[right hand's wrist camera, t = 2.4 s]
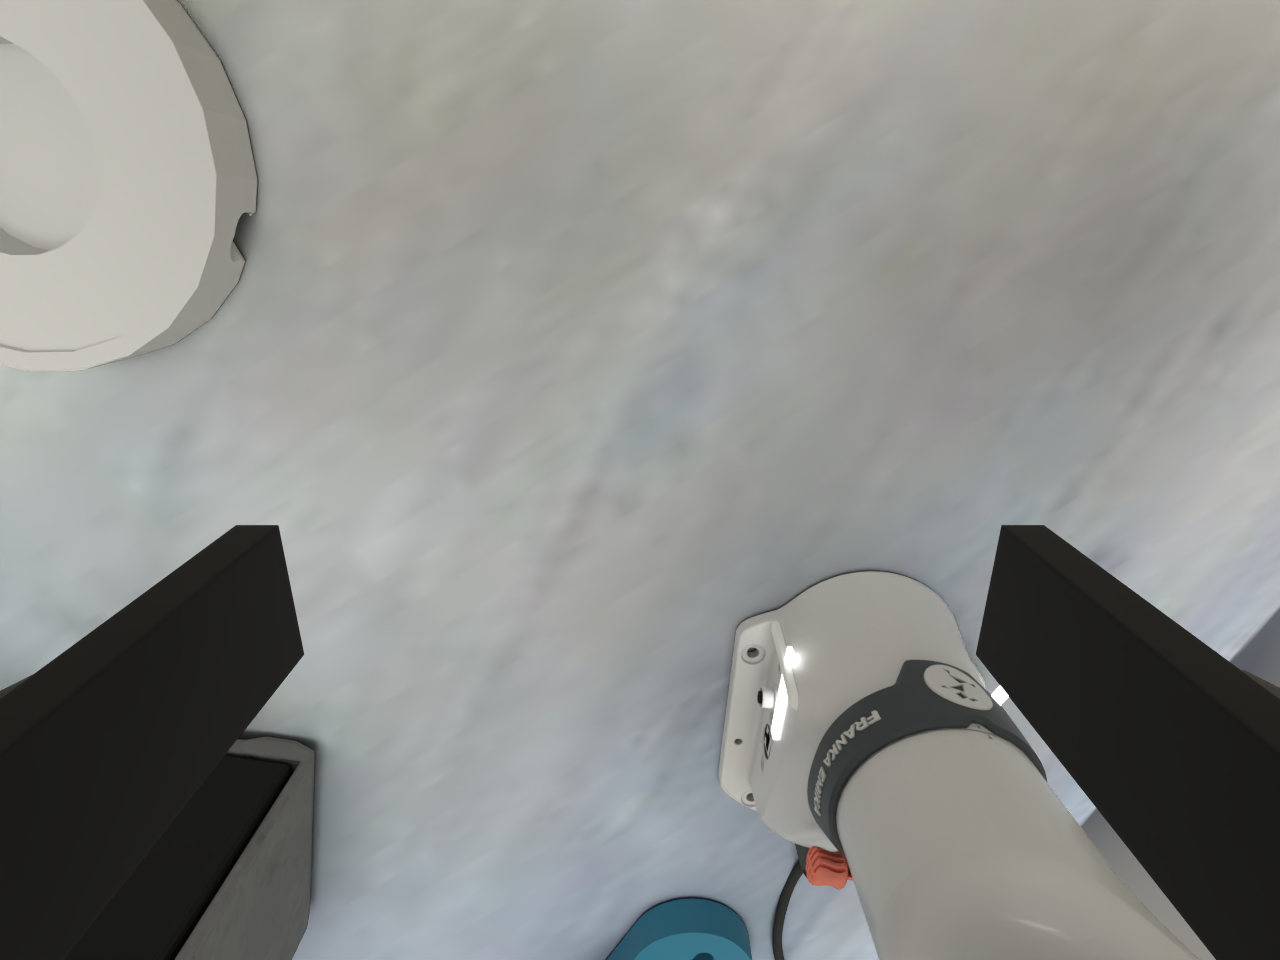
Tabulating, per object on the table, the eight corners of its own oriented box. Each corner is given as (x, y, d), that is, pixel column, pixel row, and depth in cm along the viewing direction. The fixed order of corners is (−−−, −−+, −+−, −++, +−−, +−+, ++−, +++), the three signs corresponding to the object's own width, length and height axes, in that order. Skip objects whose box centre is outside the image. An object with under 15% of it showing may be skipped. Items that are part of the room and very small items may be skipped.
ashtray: (24, 416, 44) (-33, 434, 40) (-272, 28, 36) (-377, 5, 33) (335, 266, 41) (304, 270, 37) (78, -192, 33) (7, -245, 30)
